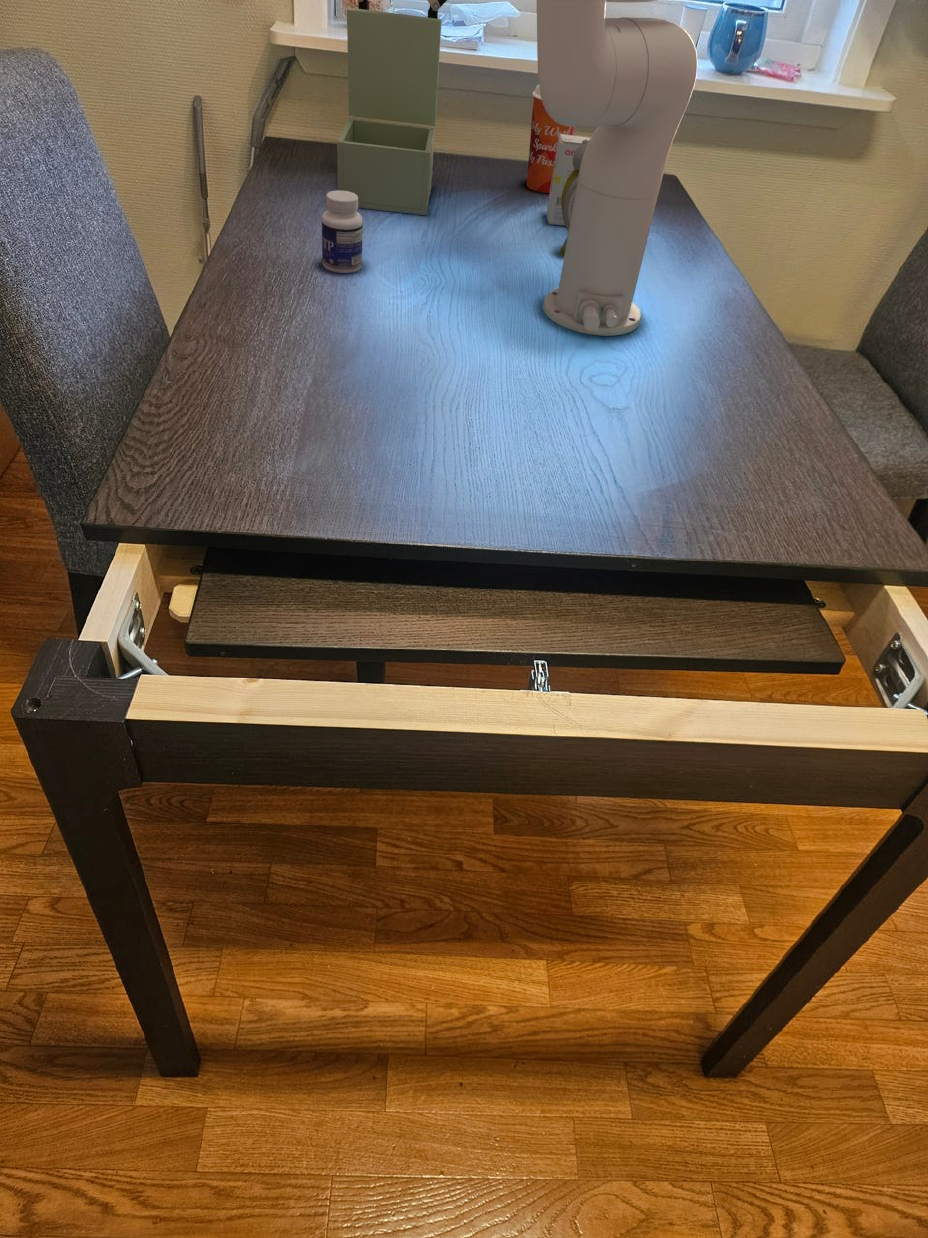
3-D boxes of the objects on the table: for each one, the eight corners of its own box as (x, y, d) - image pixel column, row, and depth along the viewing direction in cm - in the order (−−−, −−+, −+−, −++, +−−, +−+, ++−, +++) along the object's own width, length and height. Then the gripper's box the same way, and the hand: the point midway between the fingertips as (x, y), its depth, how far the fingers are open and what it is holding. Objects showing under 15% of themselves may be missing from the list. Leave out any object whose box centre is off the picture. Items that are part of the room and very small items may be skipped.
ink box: (598, 219, 137) (614, 137, 128) (601, 230, 133) (618, 147, 125) (545, 213, 136) (558, 131, 128) (547, 224, 132) (560, 140, 124)
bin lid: (441, 21, 121) (443, 5, 125) (346, 9, 121) (351, -7, 124) (435, 125, 133) (437, 108, 137) (348, 115, 133) (353, 98, 136)
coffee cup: (514, 188, 144) (528, 87, 133) (526, 176, 149) (540, 77, 139) (562, 198, 142) (580, 96, 132) (572, 185, 148) (589, 86, 138)
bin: (426, 215, 130) (430, 152, 124) (337, 205, 129) (337, 141, 123) (431, 187, 140) (435, 127, 134) (348, 177, 139) (349, 117, 133)
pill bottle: (317, 259, 113) (315, 188, 107) (354, 257, 115) (354, 187, 109) (329, 275, 110) (329, 203, 104) (367, 272, 112) (369, 201, 106)
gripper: (335, -119, 113) (336, 34, 125) (464, -103, 114) (453, 48, 126) (343, -121, 119) (343, 25, 130) (465, -106, 119) (455, 39, 131)
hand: (397, 36), depth 128 cm, fingers open, 9 cm apart
